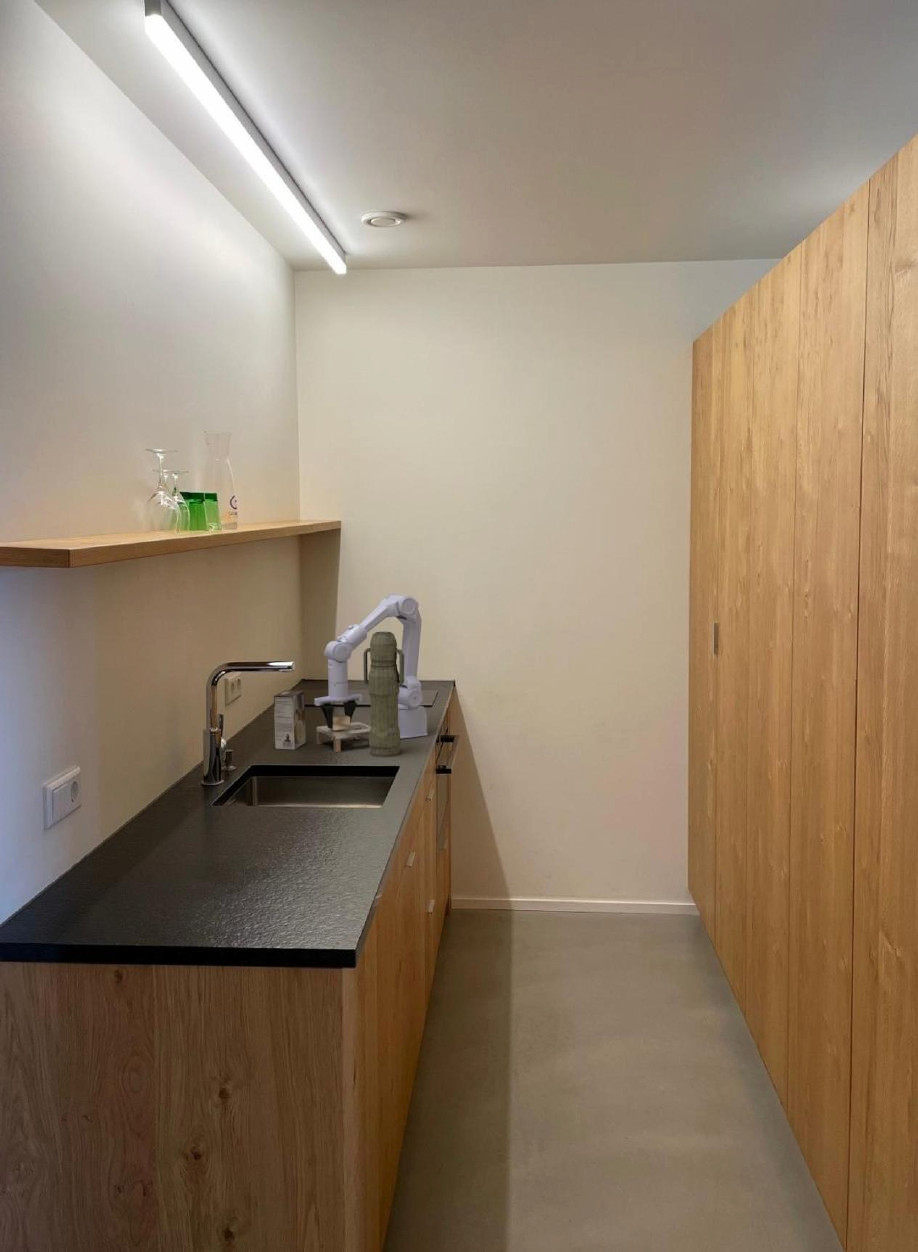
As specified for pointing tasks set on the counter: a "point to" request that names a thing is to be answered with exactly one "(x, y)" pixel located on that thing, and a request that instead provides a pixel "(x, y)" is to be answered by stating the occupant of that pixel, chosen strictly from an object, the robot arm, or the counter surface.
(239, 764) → the counter surface
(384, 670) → the thermos
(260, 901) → the counter surface
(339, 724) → the peg
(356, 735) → the keyhole stand
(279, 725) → the coffee box
